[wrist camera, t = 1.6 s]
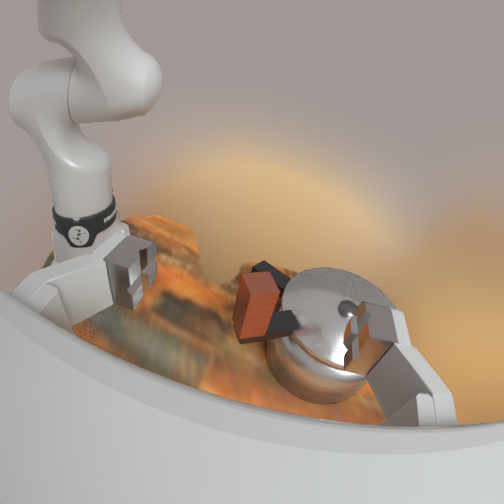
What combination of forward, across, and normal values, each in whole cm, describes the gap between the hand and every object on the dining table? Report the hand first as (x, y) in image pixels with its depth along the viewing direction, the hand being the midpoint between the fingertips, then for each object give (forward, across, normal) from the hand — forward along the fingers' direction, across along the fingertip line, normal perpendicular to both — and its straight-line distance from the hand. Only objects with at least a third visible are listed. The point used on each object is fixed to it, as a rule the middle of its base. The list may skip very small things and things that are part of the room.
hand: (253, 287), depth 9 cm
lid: (+20, -10, +20) cm, 30 cm away
